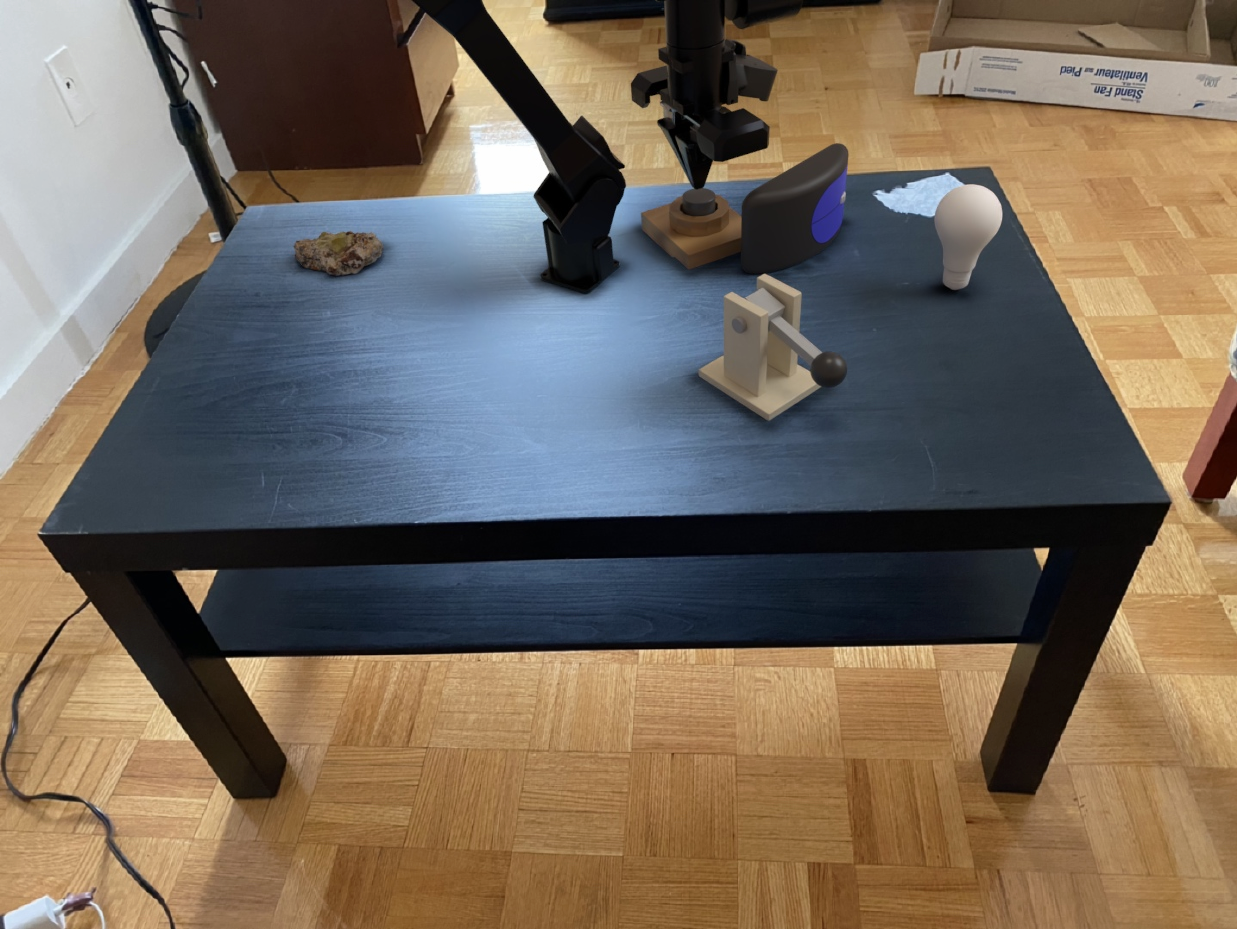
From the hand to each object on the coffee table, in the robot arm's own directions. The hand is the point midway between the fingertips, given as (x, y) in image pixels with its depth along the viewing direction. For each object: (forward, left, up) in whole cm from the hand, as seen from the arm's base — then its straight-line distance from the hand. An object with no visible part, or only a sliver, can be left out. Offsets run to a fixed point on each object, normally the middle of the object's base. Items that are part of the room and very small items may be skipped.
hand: (698, 187), depth 103 cm
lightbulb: (+28, +3, -6) cm, 29 cm away
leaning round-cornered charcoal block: (+10, +3, -6) cm, 12 cm away
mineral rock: (-35, -22, -6) cm, 42 cm away
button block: (0, 0, -6) cm, 6 cm away
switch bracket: (+18, -20, -6) cm, 28 cm away
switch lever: (+21, -21, -1) cm, 30 cm away
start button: (0, 0, -3) cm, 3 cm away
